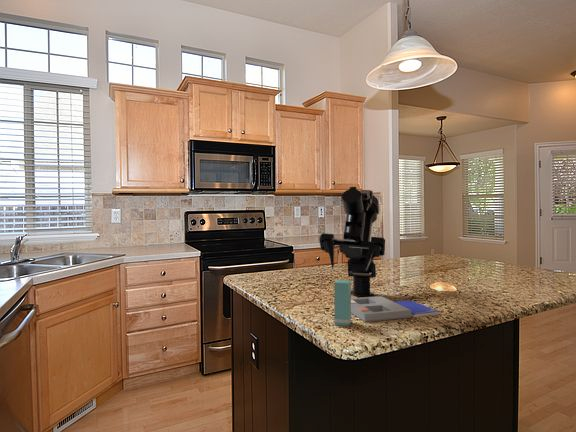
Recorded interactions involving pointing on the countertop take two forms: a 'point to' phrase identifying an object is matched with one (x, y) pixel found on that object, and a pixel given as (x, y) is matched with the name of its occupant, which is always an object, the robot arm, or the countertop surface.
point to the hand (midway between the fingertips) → (348, 268)
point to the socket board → (377, 309)
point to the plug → (342, 302)
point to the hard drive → (418, 308)
